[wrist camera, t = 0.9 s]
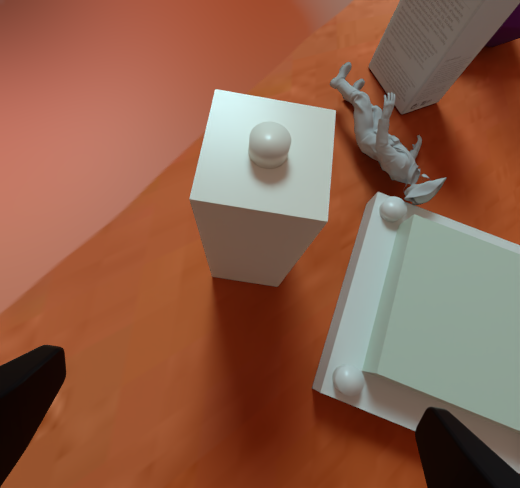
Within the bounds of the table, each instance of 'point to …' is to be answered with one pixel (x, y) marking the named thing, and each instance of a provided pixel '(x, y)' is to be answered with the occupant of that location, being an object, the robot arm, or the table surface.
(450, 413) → the robot arm
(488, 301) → the studded pedestal base
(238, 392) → the table surface
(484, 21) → the skincare box
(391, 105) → the soldier figure
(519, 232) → the table surface
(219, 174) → the tall brick
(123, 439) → the table surface
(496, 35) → the perfume bottle
